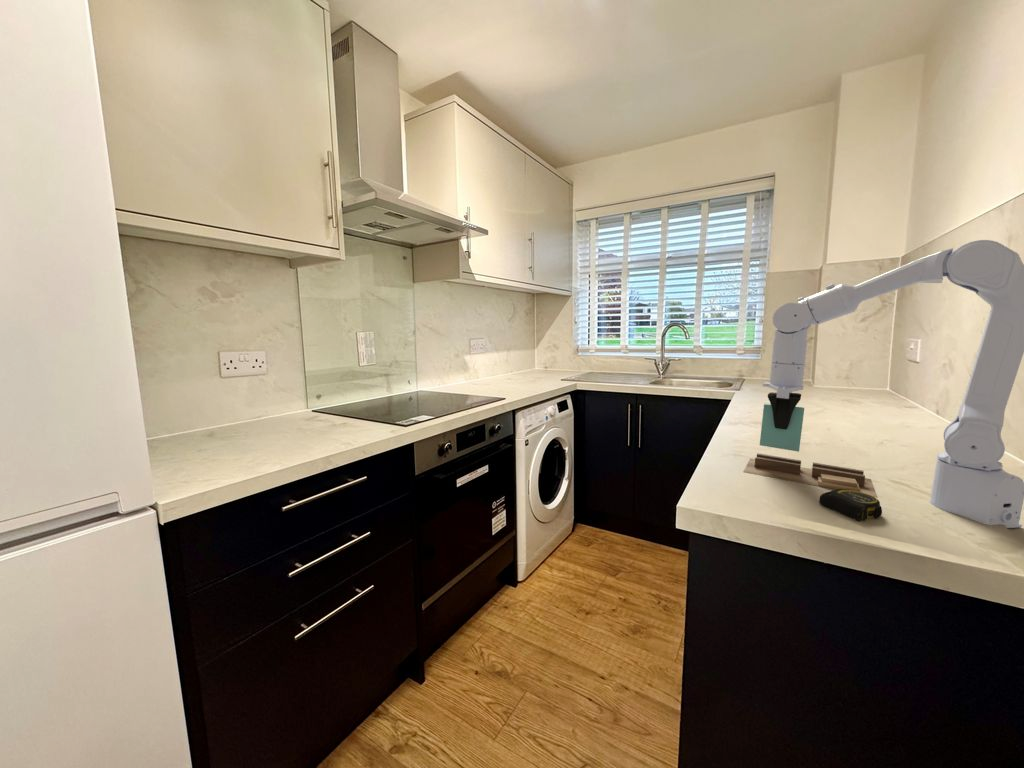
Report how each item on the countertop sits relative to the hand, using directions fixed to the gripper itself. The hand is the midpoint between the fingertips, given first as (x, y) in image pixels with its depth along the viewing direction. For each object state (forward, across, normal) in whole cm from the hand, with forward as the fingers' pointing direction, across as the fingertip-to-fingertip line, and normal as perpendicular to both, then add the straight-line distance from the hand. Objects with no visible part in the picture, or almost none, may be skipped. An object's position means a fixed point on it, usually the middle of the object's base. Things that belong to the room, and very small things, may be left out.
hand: (781, 427), depth 86 cm
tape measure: (+10, +17, +11) cm, 23 cm away
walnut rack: (+10, +2, +5) cm, 11 cm away
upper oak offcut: (+8, +5, +10) cm, 14 cm away
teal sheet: (+4, 0, 0) cm, 4 cm away
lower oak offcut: (+9, +5, +10) cm, 14 cm away
